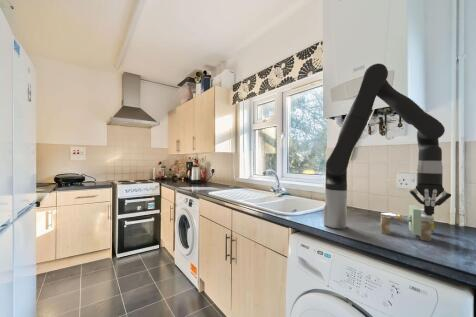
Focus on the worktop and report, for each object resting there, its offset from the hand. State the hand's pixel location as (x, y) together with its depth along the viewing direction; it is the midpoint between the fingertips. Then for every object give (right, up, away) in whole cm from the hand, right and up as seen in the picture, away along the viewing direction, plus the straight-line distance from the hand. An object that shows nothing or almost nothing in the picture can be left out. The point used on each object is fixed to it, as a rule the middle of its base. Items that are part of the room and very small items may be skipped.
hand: (429, 215), depth 85 cm
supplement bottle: (+6, -10, +9) cm, 15 cm away
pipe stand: (-7, -9, +4) cm, 12 cm away
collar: (-4, -7, +2) cm, 9 cm away
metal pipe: (-7, -4, +4) cm, 9 cm away
